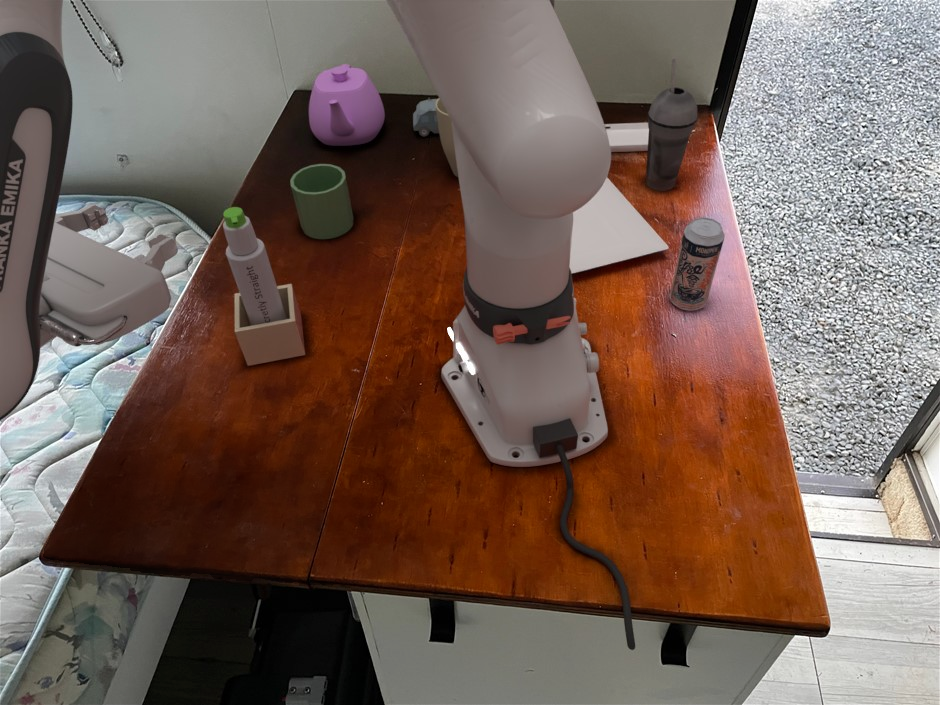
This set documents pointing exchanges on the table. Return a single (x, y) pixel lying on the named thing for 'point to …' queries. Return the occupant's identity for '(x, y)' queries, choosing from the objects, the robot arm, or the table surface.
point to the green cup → (322, 201)
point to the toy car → (426, 117)
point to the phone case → (628, 137)
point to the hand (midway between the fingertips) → (135, 227)
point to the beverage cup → (668, 134)
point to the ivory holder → (270, 332)
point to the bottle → (251, 269)
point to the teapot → (345, 107)
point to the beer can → (696, 263)
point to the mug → (446, 135)
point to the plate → (610, 232)
